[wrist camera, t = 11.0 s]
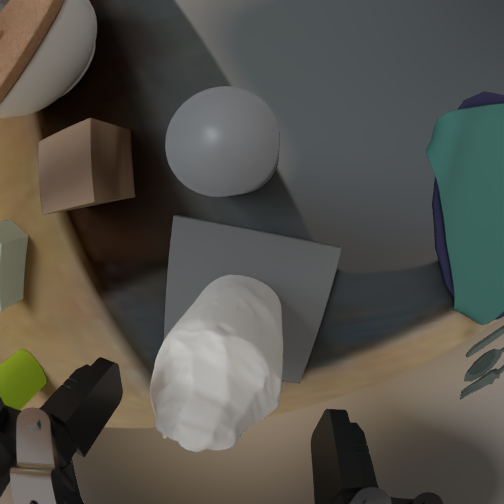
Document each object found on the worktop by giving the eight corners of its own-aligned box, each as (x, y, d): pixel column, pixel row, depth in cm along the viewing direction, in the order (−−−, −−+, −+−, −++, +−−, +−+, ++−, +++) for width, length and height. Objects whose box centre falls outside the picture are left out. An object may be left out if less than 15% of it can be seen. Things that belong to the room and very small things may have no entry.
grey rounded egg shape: (209, 114, 16) (178, 83, 10) (284, 125, 16) (288, 94, 10) (195, 187, 17) (156, 188, 11) (270, 200, 17) (267, 206, 11)
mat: (176, 215, 18) (173, 215, 17) (339, 246, 17) (341, 248, 17) (166, 350, 20) (163, 354, 20) (299, 378, 20) (299, 383, 19)
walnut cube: (81, 146, 17) (38, 142, 12) (131, 130, 17) (90, 117, 12) (85, 207, 18) (42, 214, 13) (135, 197, 18) (94, 202, 13)
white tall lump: (153, 485, 8) (78, 396, 6) (210, 349, 19) (184, 281, 18) (294, 490, 7) (255, 396, 6) (290, 335, 18) (271, 261, 17)
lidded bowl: (88, -1, 13) (28, -43, 3) (147, 37, 15) (67, -34, 4) (16, 91, 16) (-55, 79, 5) (52, 153, 17) (-49, 153, 7)
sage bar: (11, 218, 20) (-16, 225, 16) (29, 235, 20) (1, 243, 16) (6, 280, 22) (-16, 290, 18) (24, 298, 22) (0, 311, 18)
